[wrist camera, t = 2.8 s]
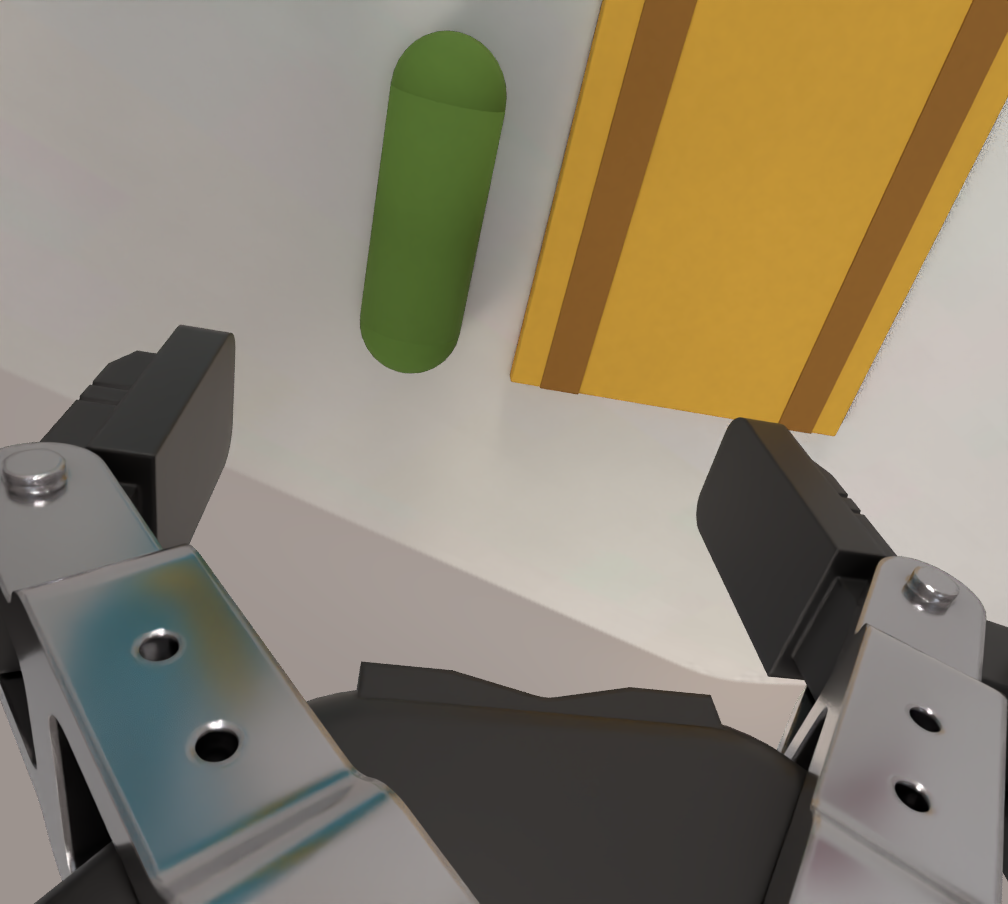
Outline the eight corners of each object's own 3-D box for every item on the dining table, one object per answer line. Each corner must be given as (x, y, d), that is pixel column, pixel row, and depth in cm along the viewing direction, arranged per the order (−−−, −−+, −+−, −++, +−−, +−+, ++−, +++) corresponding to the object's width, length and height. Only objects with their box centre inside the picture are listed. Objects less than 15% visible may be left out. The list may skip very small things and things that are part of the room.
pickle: (358, 340, 29) (349, 381, 26) (401, 15, 24) (396, 19, 21) (450, 356, 30) (451, 398, 27) (513, 43, 25) (523, 51, 21)
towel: (509, 375, 31) (510, 383, 30) (695, -376, 20) (703, -387, 19) (829, 430, 33) (836, 438, 33) (1150, -211, 22) (1170, -216, 22)
